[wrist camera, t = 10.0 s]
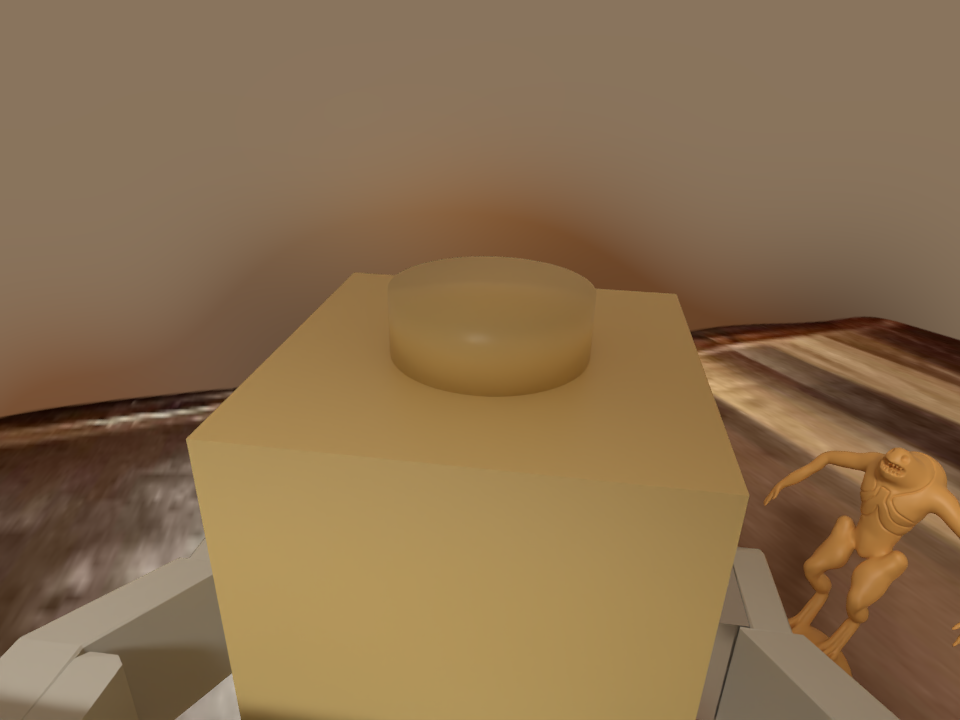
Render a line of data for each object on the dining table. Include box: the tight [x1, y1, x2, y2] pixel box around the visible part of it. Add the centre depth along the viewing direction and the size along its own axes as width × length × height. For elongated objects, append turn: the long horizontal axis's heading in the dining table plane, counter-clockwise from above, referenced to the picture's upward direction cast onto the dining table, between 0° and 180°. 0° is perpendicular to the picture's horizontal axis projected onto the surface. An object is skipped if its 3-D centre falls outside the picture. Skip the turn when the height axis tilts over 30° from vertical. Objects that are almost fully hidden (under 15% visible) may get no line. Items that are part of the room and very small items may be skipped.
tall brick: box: [186, 256, 749, 720], centre depth 10 cm, size 5×5×10 cm
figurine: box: [764, 448, 960, 677], centre depth 25 cm, size 8×6×12 cm
